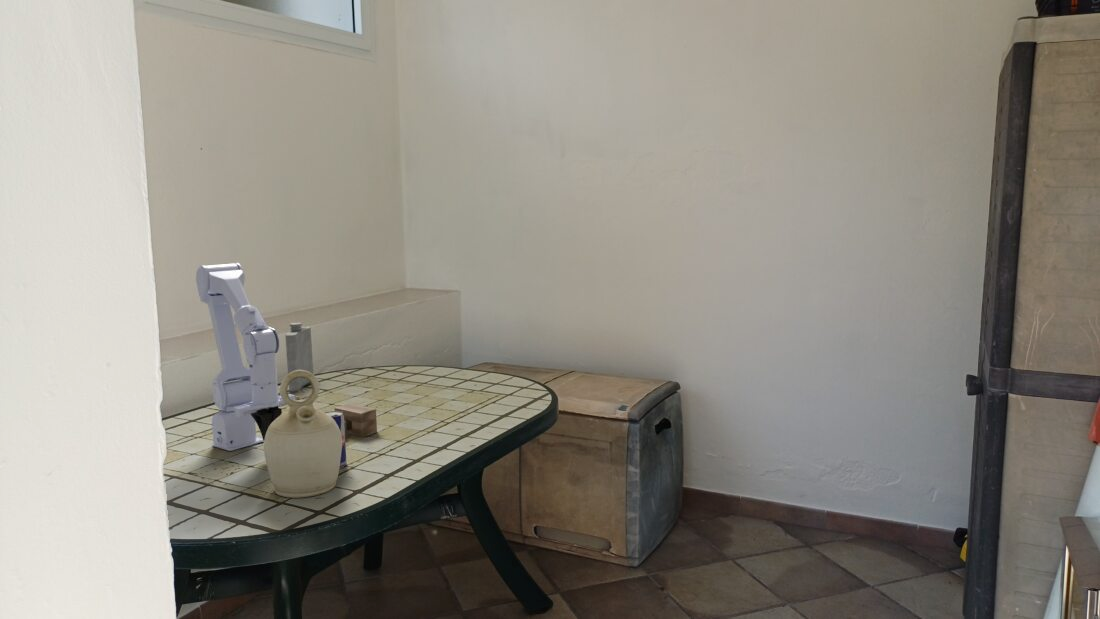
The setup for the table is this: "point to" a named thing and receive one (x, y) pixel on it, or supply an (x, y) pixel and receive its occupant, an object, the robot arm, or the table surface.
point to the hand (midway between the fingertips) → (268, 440)
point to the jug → (302, 445)
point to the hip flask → (299, 353)
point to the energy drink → (340, 422)
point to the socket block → (359, 419)
